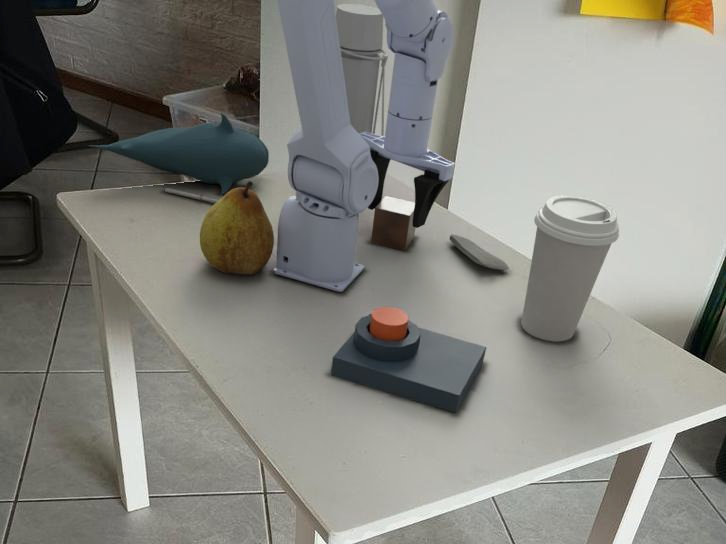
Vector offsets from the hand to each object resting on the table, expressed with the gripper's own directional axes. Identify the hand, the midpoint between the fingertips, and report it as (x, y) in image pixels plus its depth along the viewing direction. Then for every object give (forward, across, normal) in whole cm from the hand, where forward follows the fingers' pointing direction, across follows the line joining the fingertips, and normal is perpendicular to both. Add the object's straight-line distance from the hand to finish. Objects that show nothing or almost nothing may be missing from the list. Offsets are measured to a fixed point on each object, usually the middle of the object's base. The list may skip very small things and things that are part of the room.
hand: (395, 216), depth 114 cm
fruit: (+4, +8, +23) cm, 25 cm away
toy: (-3, +28, +11) cm, 31 cm away
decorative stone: (+3, -12, -6) cm, 14 cm away
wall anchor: (+4, +28, +12) cm, 30 cm away
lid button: (0, -18, +27) cm, 33 cm away
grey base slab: (+3, -21, +26) cm, 34 cm away
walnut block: (+3, 0, 0) cm, 3 cm away
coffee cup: (+4, -28, +6) cm, 28 cm away
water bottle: (+4, +15, -9) cm, 18 cm away
